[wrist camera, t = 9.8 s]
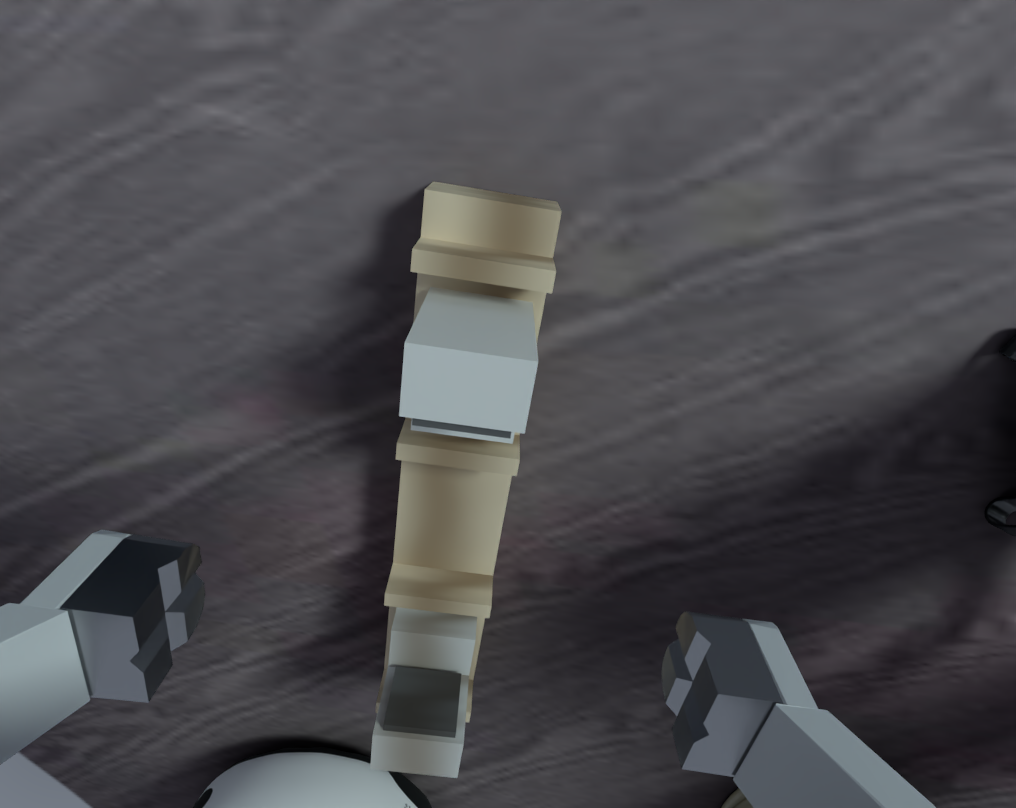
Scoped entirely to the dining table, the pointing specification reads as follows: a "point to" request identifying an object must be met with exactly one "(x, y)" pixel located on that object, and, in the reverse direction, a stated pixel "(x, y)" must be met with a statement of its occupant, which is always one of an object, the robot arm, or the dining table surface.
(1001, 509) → the coffee press
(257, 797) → the milk container
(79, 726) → the dining table surface
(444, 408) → the grey block
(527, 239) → the rail
